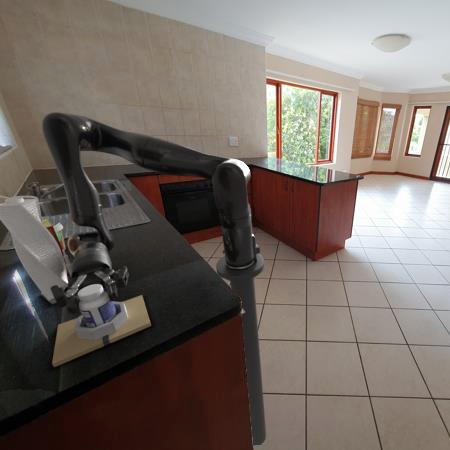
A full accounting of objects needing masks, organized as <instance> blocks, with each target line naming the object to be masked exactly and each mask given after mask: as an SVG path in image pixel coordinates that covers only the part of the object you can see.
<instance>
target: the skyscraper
mask: <svg viewBox="0 0 450 450" xmlns="http://www.w3.org/2000/svg"><path fill="white" fill-rule="evenodd" d="M0 199H4V202H2V203H0V221H1V223H2V224H3V226H5V228H6V229H7V230H8V232H9V233H10V237H11V236H12V238H11V240H12V244H13V247H14V250H15V252H16V255H17V257H18V260H19V261H20V263H21V264H22V266H23V268H24V270H25V272H26V273H27V274H28V276H29V278H30V279H31V280H32V282H33V283H34V284H35V286H36V287H37V288H38V290H39V291H40V295H41V296H42V297H43V298H44V299H45V300H46V301H48V303H50V304H51V305H54V304H55V305H56V304H57V302H56V300H55V298H54V296H53V294H52V291H51V289H50V288H51V287H52V286H55V285H58V287H62V286H65V285H67V284H68V282H69V280H68V275H67V272H66V267H67V269H68V271H69V276H70V278H71V273H72V264H73V262H71V260H70V258H69V255H68V254H66V250H65V251H64V249H63V250H62V251H63V253H64V256H63V255H62V252H61V250H60V248H59V246H58V244H57V242H56V240H55V239H54V237H53V236H52V234H51V233H50V232H49V231H48V229H47V228H46V227H45V226H44V225H43V222H42V219H43V217H42V211H41V206H40V200H39V198H38V196H35V195H15V196H9V197H8V196H5V195H0ZM63 257H64V258H65V260H66V263H67V264H66V266H65V262H64V258H63ZM70 291H71V290H68V291H67V293H65V295H67V294H68V293H69V292H70Z"/></svg>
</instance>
